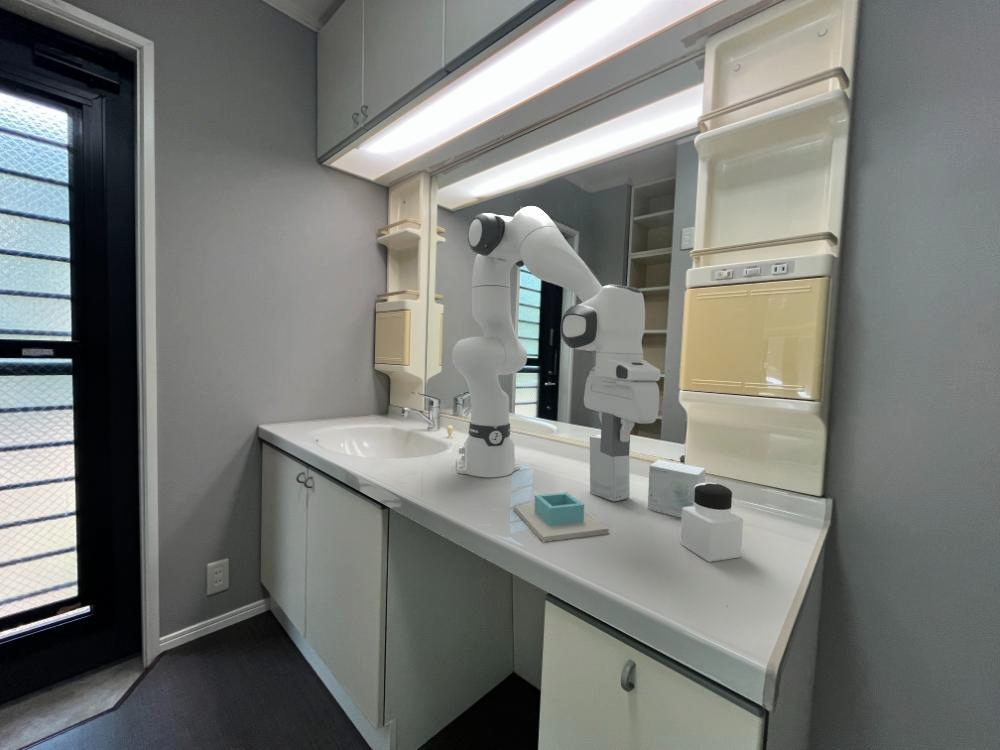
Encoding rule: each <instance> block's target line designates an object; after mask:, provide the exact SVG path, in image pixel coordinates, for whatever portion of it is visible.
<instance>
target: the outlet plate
mask: <svg viewBox="0 0 1000 750" xmlns="http://www.w3.org/2000/svg"><path fill="white" fill-rule="evenodd" d="M513 511H514V512H515V513H516V515H517V516H519V518H520V519H521V518H522V519H523V520H522V519H521V520H522V521H523V522H524V523H525V524H526V525H527V527H528V528H530V530H531V529H532V530H533V531H534V532H535V533H536V534H535V533H534V532H533V531H532V530H531V531H532V532H533V533H534V534H535V535H536V536H537V537H538V539H540V541H541V540H542V541H548V542H553V541H552V540H555V541H561V540H571V539H577V538H585V537H592V536H600V535H607V534H609V533H610V532H609V531H610V528H609V527H608V526H606V525H605V524H603V523H602V522H601V521H600V520H599V519H597V518H595V517H594V516H593V515H591V514H590V513H589V512H588V511H586V510H585V504H584V503H583V502H581V501H580V500H578V499H577V498H575V497H574V496H573V495H572V494H570V493H568V492H555V493H546V494H535V495H534V503H527V504H519V505H517V504H516V505H513ZM542 541H541V542H542Z"/></svg>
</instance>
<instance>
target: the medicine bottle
mask: <svg viewBox="0 0 1000 750" xmlns="http://www.w3.org/2000/svg"><path fill="white" fill-rule="evenodd" d="M732 499H733V492H732V491H731V489H730V488H729V487H727V486H726V485H722V484H719V483H715V482H714V483H713V482H705V483H700V484H697V485H696V486H695V487H694V506H690V507H683V508H682V518H681V524H680V525H681V526H680V544H681V545H682V546H683V547H684V548H686V549H688V550H689V551H691V552H692V553H694V554H695V555H697V556H699V557H700V558H702V559H704V561H707V562H708V563H711V562H719V561H725V560H730V559H736V558H737V559H738V558H741V557H742V542H743V525H744V524H743V523H744V519H743V518H742V517H741V516H739V515H736V514H734V513H732V503H733V502H732V501H733V500H732Z"/></svg>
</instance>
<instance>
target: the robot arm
mask: <svg viewBox="0 0 1000 750" xmlns="http://www.w3.org/2000/svg"><path fill="white" fill-rule="evenodd" d="M467 241H468V244H469V247H470V249H471V250H472V251H473V252H474V253H476V254H477V255H476V256H475V259H474V262H473V263H474V264H473V269H472V276H471V277H472V280H471V314H472V317H473V319H474V320H475V322H477V323H478V324H479V326H480V327H481V329H482V333H483V336H471V337H466V338H462V339H460V340H458V341H457V342H456V344H455V345H454V346H453V349H452V352H451V353H452V356H451V357H452V358H451V359H452V363H453V365H454V368H455V370H456V371H457V372H459V373H460V375H461V376H463V377H462V378H463V379H464V380H465V382H466V384H467V388H468V391H469V395H470V415H471V416H470V422H469V426H468V437H467V438H466V440H465V441H464V443H463V445H462V446H461V445H459V446H458V454H459V455H461V456H457V457H456V473H458V474H462V475H470V476H473V477H480V478H501V477H505V476H509V475H511V474H513V473H514V472H515V471H517V470H520V465H519V464H517V463H516V454H515V453H516V452H515V442H514V441H513V439H511V438H510V436H511V431H512V429H511V423H510V396H509V394H508V393H507V392H506V391H504V390H503V389H502V387H501V384H500V381H499V376H508V375H512V374H515V373H517V372H520V371H521V370H523V368H524V367H525V365H526V363H527V361H528V352H527V349H526V347H525V345H524V344H523V343H522V342H521V341H520V339H519V337H518V335H517V333H516V331H515V328H514V323H513V319H512V311H511V310H512V309H511V307H512V306H511V279H510V278H511V271H512V268H513V266H514V265H516V266H517V267H518V268H523V267H524V266H525V268H526V269H527V270H528V271H529V272H530V273H531V274H532V275H533V276H534V277H535V278H537V279H539V280H541V281H544V282H546V283H550V284H553V285H555V286H558V287H561V288H564V289H566V290H568V291H570V292H572V293H573V294H574V295H576V296H577V297H578V298H579V300H580V301H581V303H579V304H574V305H572V306H569V308H567V310H566V311H565V312H564V314H563V315H562V318H561V321H560V335H561V338H562V340H563V342H564V343H565V344H566V346H567V347H569V348H571V349H575V350H579V351H594V352H595V365H594V366H593V367H592V369H590V371H589V375H588V376H587V378H586V381H585V387H584V393H583V394H584V395H583V404H584V406H585V408H586V409H589V410H593V411H596V412H598V419H599V421H600V424H601V423H602V412H604V413H608V414H611V415H614V416H616V417H619V418H621V424H622V427H621V430H620V431H617V439H618V440H619V441H622V442H628V441H629V437H630V438H631V432H632V430H633V428H634V427H635V423H637V424H640V425H641V424H642V425H643V424H653V423H655V422H656V420H657V419H658V416H659V410H660V409H659V408H660V388H659V385H658V383H657V382H658V381H659V380H661V370H660V369H659V368H658V367H656V366H654V365H653V364H651V363H649V362H648V361H647V360H645V359H644V350H643V344H642V343H643V342H642V340H643V336H644V333H645V326H646V323H645V322H646V307H645V303H646V302H645V298H644V294H643V293H642V291H641V290H640V289H639V288H637V287H633V286H628V285H621V284H614V283H613V284H611V283H609V284H606V285H604V283H603V282H602V281H601V279H600V278H599V277H598V276H597V274H595V272H594V271H593V270H592V268H591V267H589V266H588V264H587V263H586V262H585V261H584V260H583V259H582V258H581V257H580V256H579V255H578V254H577V252H576V251H575V250H574V249H573V247H572V246H571V245H570V244H569V242H568V240H566V238H565V237H564V234H562V232H561V231H560V230H559V228H558V226H557V225H556V224H555V222H554V221H553V220H552V219H551V217H550V216H549V215H548V214H547V213H545V212H544V211H543V210H542V209H541V208H539V207H537V206H532V205H529V206H525V207H523V208H521V209H519V210H518V211H517V212H516V213H515V214H514V215H513V216H507V215H498V214H495V213H492V212H491V213H487V212H486V213H479V214H477V215H476V216H475V217H474V218H473V219H472V220H471V222H470V223H469V227H468V230H467Z"/></svg>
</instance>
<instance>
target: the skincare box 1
mask: <svg viewBox="0 0 1000 750" xmlns="http://www.w3.org/2000/svg"><path fill="white" fill-rule="evenodd" d="M600 444H601V433H600V434H595V435H590V436H589V493H590V494H593V495H595V496H598V497H600V498H603V499H606V500H609V501H611V502H614V503H615V502H618V501H622V500H627V499H630V489H631V488H630V485H631V483H630V455H629V456H616V457H611V456H609V455H606V454H604V453H602V452H600Z"/></svg>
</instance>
